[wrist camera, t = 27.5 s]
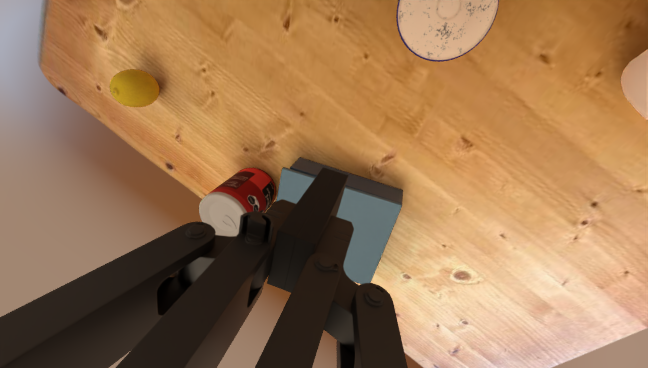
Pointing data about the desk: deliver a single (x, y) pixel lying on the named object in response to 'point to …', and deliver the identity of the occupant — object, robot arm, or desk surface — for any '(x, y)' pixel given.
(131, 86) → the lemon
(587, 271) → the desk surface
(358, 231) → the lunchbox lid
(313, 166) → the box
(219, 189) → the canned food
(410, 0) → the teacup with lid
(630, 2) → the desk surface
